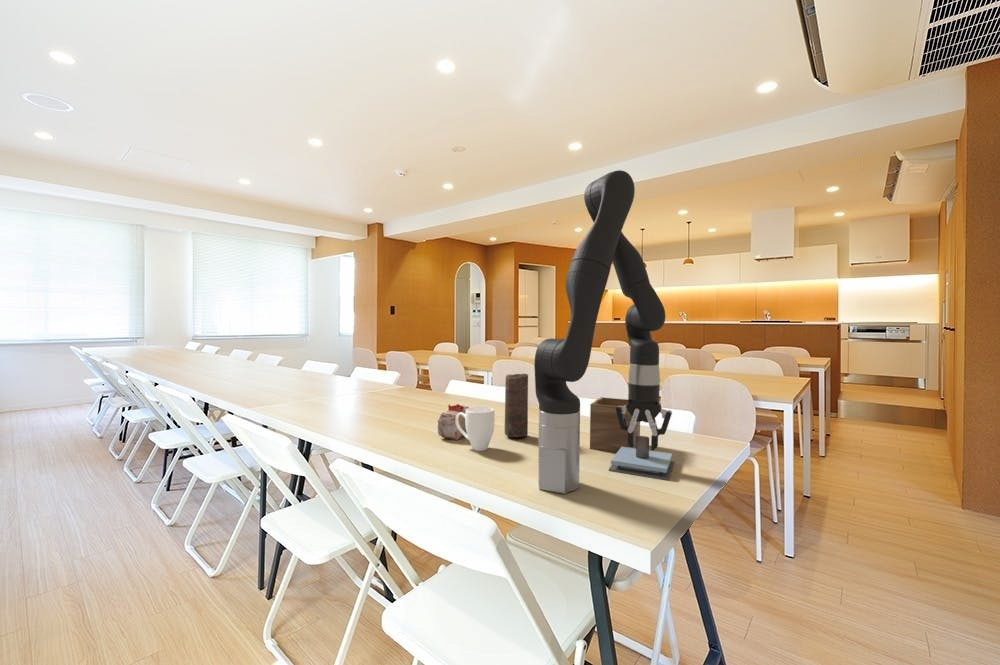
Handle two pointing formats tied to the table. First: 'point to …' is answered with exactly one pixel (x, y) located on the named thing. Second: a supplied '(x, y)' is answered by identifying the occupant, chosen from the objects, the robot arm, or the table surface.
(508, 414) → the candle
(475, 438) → the mug
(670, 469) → the mat
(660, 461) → the lid
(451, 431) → the grey speckled jug shape
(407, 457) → the table surface
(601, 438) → the box
